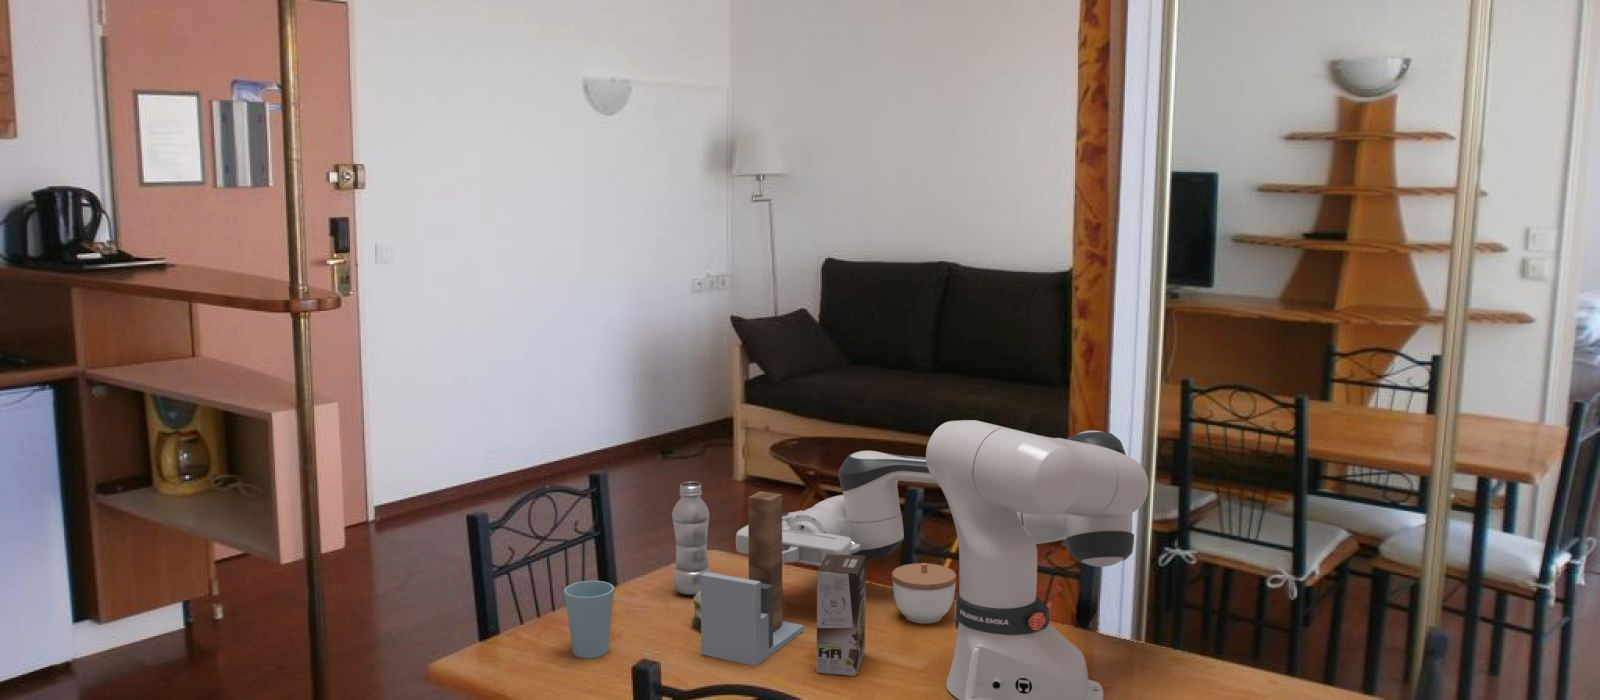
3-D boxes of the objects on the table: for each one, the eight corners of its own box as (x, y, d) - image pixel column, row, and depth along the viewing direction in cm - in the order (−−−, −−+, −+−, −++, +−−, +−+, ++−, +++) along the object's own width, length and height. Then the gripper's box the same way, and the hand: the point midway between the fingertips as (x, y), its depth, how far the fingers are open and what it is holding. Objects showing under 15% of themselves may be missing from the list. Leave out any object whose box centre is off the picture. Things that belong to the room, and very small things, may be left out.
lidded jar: (918, 601, 220) (919, 549, 218) (968, 616, 212) (969, 563, 211) (878, 617, 212) (879, 564, 211) (928, 634, 205) (929, 578, 203)
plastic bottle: (710, 599, 220) (709, 489, 217) (671, 599, 220) (669, 489, 217) (712, 586, 227) (711, 479, 224) (674, 587, 227) (673, 479, 224)
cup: (622, 644, 200) (620, 581, 199) (605, 663, 193) (603, 598, 191) (577, 640, 202) (575, 578, 200) (559, 659, 194) (556, 595, 193)
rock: (740, 645, 204) (732, 601, 201) (685, 644, 206) (677, 601, 203) (754, 614, 212) (747, 573, 209) (701, 614, 214) (694, 573, 212)
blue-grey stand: (803, 631, 206) (803, 555, 204) (756, 666, 192) (755, 584, 190) (751, 621, 210) (751, 546, 208) (701, 654, 196) (700, 574, 194)
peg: (782, 624, 205) (782, 494, 202) (770, 632, 202) (770, 500, 198) (761, 620, 207) (760, 491, 203) (749, 628, 203) (748, 497, 200)
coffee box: (857, 677, 188) (858, 573, 185) (815, 673, 189) (815, 570, 186) (866, 653, 197) (867, 554, 194) (826, 650, 198) (826, 552, 195)
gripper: (864, 562, 213) (829, 587, 201) (759, 545, 222) (719, 568, 210) (865, 526, 212) (829, 549, 200) (759, 511, 221) (719, 532, 209)
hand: (772, 559), depth 205 cm, fingers closed
